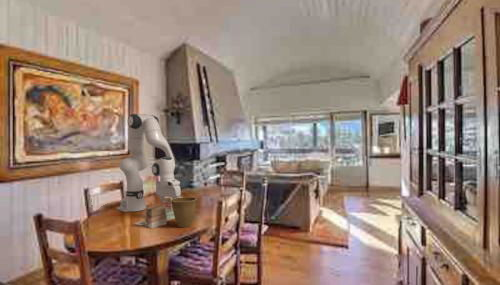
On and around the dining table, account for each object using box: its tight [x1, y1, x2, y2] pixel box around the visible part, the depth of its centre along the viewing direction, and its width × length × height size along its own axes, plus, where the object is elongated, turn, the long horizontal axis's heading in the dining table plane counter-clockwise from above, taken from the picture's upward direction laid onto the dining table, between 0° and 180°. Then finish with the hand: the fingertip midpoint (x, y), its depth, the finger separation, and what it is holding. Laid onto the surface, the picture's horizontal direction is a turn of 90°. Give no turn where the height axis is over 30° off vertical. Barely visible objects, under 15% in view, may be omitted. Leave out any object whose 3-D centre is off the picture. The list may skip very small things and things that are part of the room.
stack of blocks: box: [162, 195, 184, 211], centre depth 227 cm, size 21×6×12 cm, turn 170°
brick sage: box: [165, 210, 175, 221], centre depth 208 cm, size 5×10×5 cm, turn 143°
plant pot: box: [171, 196, 197, 228], centre depth 191 cm, size 15×15×16 cm
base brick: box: [144, 214, 168, 229], centre depth 193 cm, size 6×11×6 cm, turn 144°
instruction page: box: [133, 220, 145, 226], centre depth 199 cm, size 7×9×1 cm
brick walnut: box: [145, 204, 165, 218], centre depth 193 cm, size 5×10×5 cm, turn 145°
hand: (168, 203), depth 208 cm, fingers open, 8 cm apart
